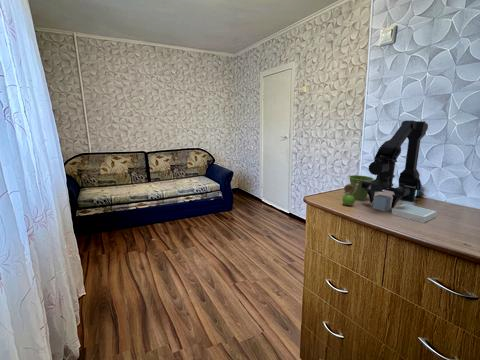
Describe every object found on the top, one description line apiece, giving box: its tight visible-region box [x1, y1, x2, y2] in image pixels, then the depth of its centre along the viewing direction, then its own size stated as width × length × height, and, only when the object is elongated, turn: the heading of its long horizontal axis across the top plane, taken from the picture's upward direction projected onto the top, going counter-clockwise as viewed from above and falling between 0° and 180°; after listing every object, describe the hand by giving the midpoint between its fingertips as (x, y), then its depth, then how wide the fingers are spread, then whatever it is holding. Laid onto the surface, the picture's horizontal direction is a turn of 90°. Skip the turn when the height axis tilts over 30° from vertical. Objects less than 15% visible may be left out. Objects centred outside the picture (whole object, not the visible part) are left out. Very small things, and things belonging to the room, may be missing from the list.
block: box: [372, 194, 392, 212], centre depth 112 cm, size 5×5×6 cm
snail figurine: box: [342, 181, 359, 206], centre depth 116 cm, size 5×6×12 cm
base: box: [391, 203, 437, 224], centre depth 104 cm, size 12×12×3 cm
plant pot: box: [348, 174, 375, 201], centre depth 127 cm, size 12×12×11 cm
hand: (381, 205), depth 112 cm, fingers open, 9 cm apart
